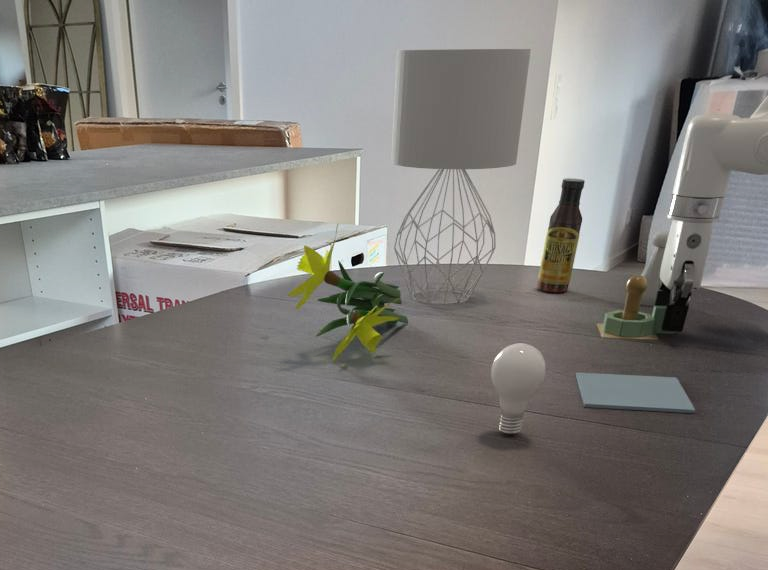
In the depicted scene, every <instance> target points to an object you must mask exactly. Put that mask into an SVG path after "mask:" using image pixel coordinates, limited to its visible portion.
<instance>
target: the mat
mask: <svg viewBox="0 0 768 570" xmlns="http://www.w3.org/2000/svg"><path fill="white" fill-rule="evenodd" d="M575 378H576V382H577V385H578V390H579V393H580V397H581V400H582V405H583V407H584V408H594V409H609V410H628V411H644V412H660V413H661V412H663V413H680V414H681V413H682V414H695V413H696V408H695V406H694V405H693V403H692V401H691V400H690V398H689V396H688V395H687V393H686V391H685V390H684V388H683V386H682V384H681V382H680V381H679V379H678V377H673V376H671V377H670V376H655V375H636V374H635V375H633V374H614V373H596V372H595V373H594V372H576V373H575Z"/></svg>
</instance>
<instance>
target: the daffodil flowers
mask: <svg viewBox="0 0 768 570" xmlns="http://www.w3.org/2000/svg"><path fill="white" fill-rule="evenodd" d="M338 228H339V224H336V228H335V234H337V233H338V232H337V231H338ZM336 237H337V235H335V237H334V238H333V239H334V240H333V242H332V245H331V247H330V249H329V250H328V249H326V250H325V254H324V257H323V255H322V254H320V253H319V252H318V251H316V250H315V249H313V248H311V247H309V246H307V245H304V247H303V249H304V252H303V254H302V255H301V258H299V260H300V261H298V262H297V263H298V264H297V265H296V266H297V267H296V270H297V271H300V272H304V273H307V274H309V275H311V276H309V277H308V278H307V279H306V280H304V281H303V282H302V283H300V284H299V285H297V287H295V288H294V289H293V290H291V291H290V292H289V293H288V294H287V295H286V296H287V297H297V296H301V295H303V296H302V297H301V299H300V300H299V301H298V303H297V304H296V306H295V308H294V309H293V311H292V312H295V311H297V310H298V309H300V308H301V307H303V306H304V305H305V304H306V303H307V302H308V300H309V299H310V298H311V296H312V295H313V293H314V292H315V290H316V289H318V288H319V286H320V285H321V284H323V283H325V284H328V285H330V286H333V287H336V288H339V289H341V290H343V292H338V293H334V294H331V295H329V296H326V297H322V298H318V299H317V302H321V303H327V304H334V305H336V307H337V309H338V311H339V312H340V313H341V314H343V315H346V316H345V317H341V318H337V319H333V320H332V321H330V322H328V323H327V324H325V326H323V327H322V328H321V330H319V331H318V333H316V335H315V337H316V338H317V337H321V336H322V335H324V334H326V333H329V332H331V331H333V330H335V329H338V328H340V327H343V326H344V327H345V326H347V327H350V325H352V326H351V328H350V329H349V331H348V333H347V334H346V336H344V338H343V339H342V340H341V341H340V342H339V344H338V345H337V347H336V348H335V350H334V353H333V356H332V359H331V362H333V361H334V360H335V359H336V358H337V357H338V356H339V355H340V354H341V353H342V352H343V351H344V350H345V349H346V348H347V347H348V345H350V343H351V342H352V341H353V340H354V339H355V337H357V338H358V340H359V341H360V343H361V344H362V346H363V347H365V348H366V349H367V350H368V351H369V352H370V353H372V354H376V353H377V349H376V348H377V346H378V345H379V343H381V341H383V339H382V338H383V336H382V335H381V334H380V333H379V332H377V331H376V330H375V329H374V328H373V327H376V326H379V325H382V324H385V323H386V324H391V325H396V324H397V323H398V322H399V323H403V324H407V325H408V324H409V319H408V317H407V315H403V314H400V313H397V312H395V311H396V309H395V308H390V307H388V306H390V305H391V304H397V305H400V306H401V305H402V303H403V301H402V298H401V296H402V294H401V290H400V289H399V288H400V286H399V285H394V284H391V283H390V284H389V283H385V282H383V281H382V280H381V279H382V278H383V276H384V274H385V271H380V272H378V273H376V274H375V275H374V282H372V281H366V280H361V281H360V280H359V281H353V279H352V278H351V276H349V273H348V272H347V270H346V269H345V267H344V265H343V264H342V262H341V261H340V260H338V261H337V262H338V266H339V270H340V273H341V276H342V277H340V276H339V275H337V274H336V273H335V272H334V271H332V270H331V261H332V254H333V251H334V247H335V242H336V239H337V238H336ZM385 304H386V305H385ZM342 306H350V307H352V308H351V309H348V308H344V307H342Z"/></svg>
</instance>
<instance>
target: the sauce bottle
mask: <svg viewBox="0 0 768 570" xmlns="http://www.w3.org/2000/svg"><path fill="white" fill-rule="evenodd" d="M584 187H585V179H581V178H571V177H569V178H568V177H566V178H563V179H562V182H561V193H560V197H559V200H558V204H557V206H556V208H555V210H554V211H553V212H552V214H551V215H550V217H549V223H548V228H547V231H546V236H545V241H544V245H543V250H542V256H541V262H540V266H539V271H538V272H539V273H538V276H537V280H538V281H537V285H536V286H537V287H536V288H537V289H538V290H539V291H542V292H546V293H555V294H557V293H558V294H559V293H564V292H566V291H568V289H569V286H570V283H571V278H572V274H573V268H574V264H575V260H576V259H575V258H576V254H577V249H578V245H579V240H580V231H581V228H582V223H583V216H582V213H581V210H580V205H581V197H582V191H583V189H584Z"/></svg>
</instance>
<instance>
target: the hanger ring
mask: <svg viewBox="0 0 768 570" xmlns="http://www.w3.org/2000/svg"><path fill="white" fill-rule="evenodd" d="M666 307H667V306H654V309H653V308H652V311H653V313H652V312H651V313H647V312H643V311H639V313H638V317H637V320H624V319H622V315H623V310H621V309H620V310H619V309H618V310H613V311H608V312H605V314H604V317H603V322H602V323H603V330H604V332H605V333H609V334H613V335H617V336H621V337H643V336H647V335H651V334H652V333H656V335H657V334H659V335H676V334H677V332H674V331H663V330H662V329H661V327H662V323H663V319H664V315H665V311H666Z"/></svg>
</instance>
